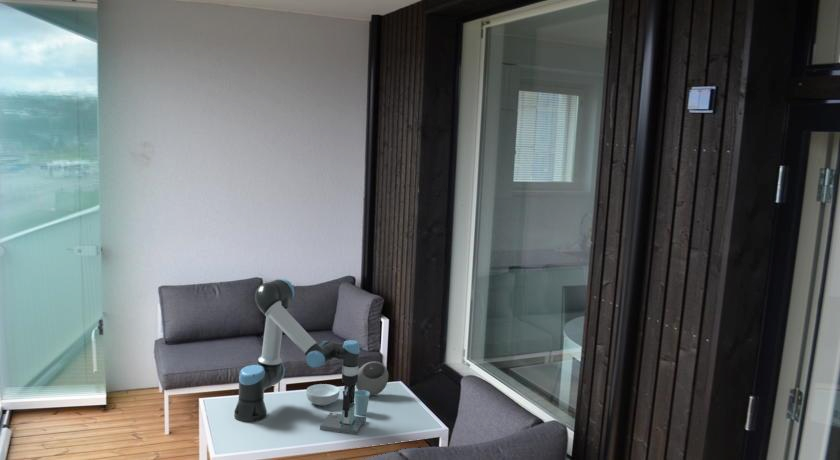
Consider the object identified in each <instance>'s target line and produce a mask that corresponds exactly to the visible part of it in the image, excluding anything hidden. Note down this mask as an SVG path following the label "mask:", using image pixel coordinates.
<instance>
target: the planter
mask: <svg viewBox="0 0 840 460" xmlns="http://www.w3.org/2000/svg"><path fill="white" fill-rule="evenodd" d="M359 368H360V369H359V370H358V382H357V383H356V385H355V389H357V390H356V391H358V390H364V391H368V392H369V393H370V396H369V397H373V396H376V395H378V394H380V393H382V392H383V391H384V390H385V388H386V387H387V385H388V381H389V371H388V369H387V367H386V365H384V364H383V363H382V362H379V361H369V362H367V363H364V364H363V365H362V366H361V367H359Z"/></svg>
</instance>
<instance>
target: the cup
mask: <svg viewBox="0 0 840 460" xmlns="http://www.w3.org/2000/svg"><path fill="white" fill-rule="evenodd" d="M370 397H371V396H370V393H369V392H368V391H364V390H355V397H354V403H355V411H354V414H356V416H364V415H367V411H368V406H369V401H370Z"/></svg>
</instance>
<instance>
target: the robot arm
mask: <svg viewBox="0 0 840 460" xmlns="http://www.w3.org/2000/svg"><path fill="white" fill-rule="evenodd" d="M294 296H295V288H294V285H293V284H292V283H291V282H290V281H289V280H288V279H285V278H278V279H274V280H271V281H268V282H265V283H262V284H260V285H259V286H258V288H256V291H255V294H254V299H255V300H254V301H255V304H256V305H257V307H258V309H259V310H260V312H261V313H262V314H263V315H264V316H265V322H264V323H265V324H264V331H263V341H262V350H261V356H259V357H258V359H257V364H250V365H246V366H244V367H242V368H241V369H240V371H239V375H238V401H237V403H236V405H235V406H236V407H235V409H234V414H233V415H234V416H233V417H234V419H236V420H237V421H240V422H245V423H246V422H249V423H252V422H253V423H254V422H258V421H259V422H260V421H262V420H264V419H265V418H266V417H267V413H268V411H267V406H266V404H265V401H264V397H265V390H267V389H270V388H271V387H273V386H276V385H277V384H279V383H280V381H282V380H283V378H284V377H285V373H286V372H285V371H286V368H285V366H284V363H283V360H282V359H281V357H280V356H281V355H280V352H281V347H282V345H281V344H282V339H283V337H282V336H283V333H284V334H285V335H286V336H287V337H288V339H290V340H291V341H292V343H294V345H295V346H297V348H298V349H299V350H300V351H301V352H302V353H303V354H304V355H305V361H306V364H307V365H308V366H309V367H310V368H313V369H314V368H315V369H316V368H318V367H321V366H323V365H325V364H326V363H328V362H330V361H332V360H339V361H342V367H341V368H342V371H341V373H342V374H341V382H342V383H344V384H345V385H344V389H343V391H342V405H343V409H342V408H341V411H342V410H344V418H343V423H346V424H349V418H350V410H349V407H350V403H355V391H356V383H357V382H358V371H359V369H360V368H361V367H359V363H360V353H361V352H360V351H361V350H360V348H361V347H360V342H359V341H358V340H354V339H348V340H345V341H343V343H339V342H335V341H332V340H322V341H321V343H320V344H319V343H318V342H317V341H315V339H314V338H313V337H312V336H311V335H310V334H309V333H308V332H307V331H306V330H305V329H304V328H303V326H302V325H301V324H300V323H299V322H298V321H297V320H296V319H295V318H294V317H293V316H292V315H291V314H290V313H289V312H288V310H289V307H290V301H292V300H293V298H294Z"/></svg>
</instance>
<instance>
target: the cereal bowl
mask: <svg viewBox="0 0 840 460" xmlns="http://www.w3.org/2000/svg"><path fill="white" fill-rule="evenodd" d="M305 391H306V392H305V393H306V394H305V395H306V399H307V400H308V401H309V402H310V403H312V404H314V405H317V406H320V407H323V406H324V407H326V406H329V405H330V404H333V403H335V402H336V401H337V400H338V398H339V396H340V388H339V387H338V386H337V385H333V384H327V383H325V384H324V383H323V384H322V383H319V384H313V385H310V386H308V387H307V388H306V390H305Z"/></svg>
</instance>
